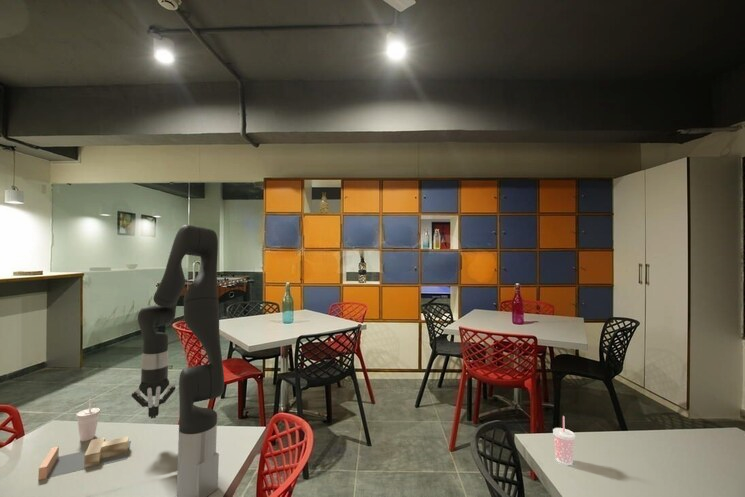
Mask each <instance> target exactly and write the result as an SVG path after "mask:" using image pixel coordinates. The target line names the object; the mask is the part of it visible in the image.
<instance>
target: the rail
mask: <svg viewBox="0 0 745 497" xmlns="http://www.w3.org/2000/svg"><path fill="white" fill-rule="evenodd" d="M59 450H60V446H58V445H57V446H54V447H51V448H50V449H49V452H48V453H47V455H46V457H45V458H44V460H43V461H42V463H41V464H40V466H39V467H38V475H37V476H38V477H37V478H38V481H40V480H41V479H42V480H45V478H46V479H48V478H47V476H48V474H49V472H50V471H51V469H52V467H53V465H54V464H55V462H56V460H57V458H58V457H59V452H60V451H59Z"/></svg>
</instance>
